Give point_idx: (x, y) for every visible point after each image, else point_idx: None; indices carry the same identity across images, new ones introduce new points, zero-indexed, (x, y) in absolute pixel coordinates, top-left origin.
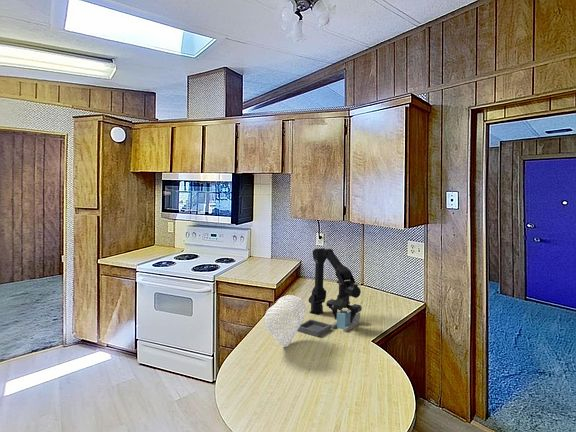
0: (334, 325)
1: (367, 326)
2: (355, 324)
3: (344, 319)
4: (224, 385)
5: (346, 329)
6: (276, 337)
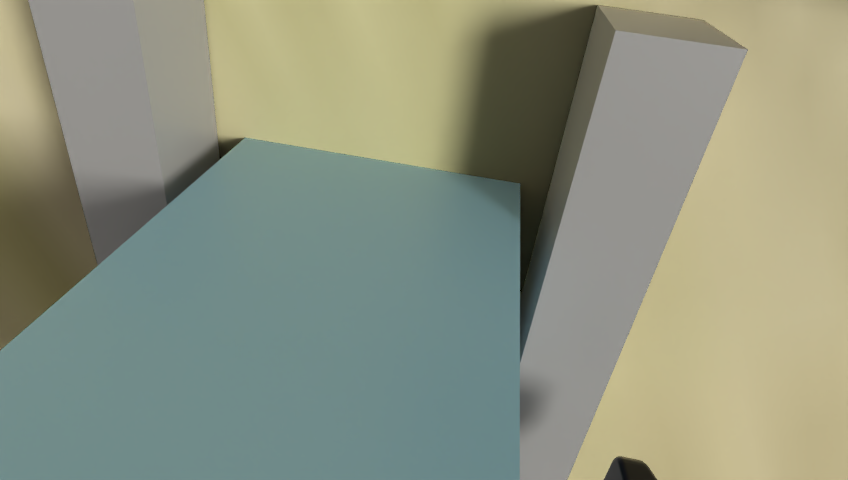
0: (579, 139)
1: None
2: None
3: (39, 351)
4: None
5: (61, 6)
6: None
